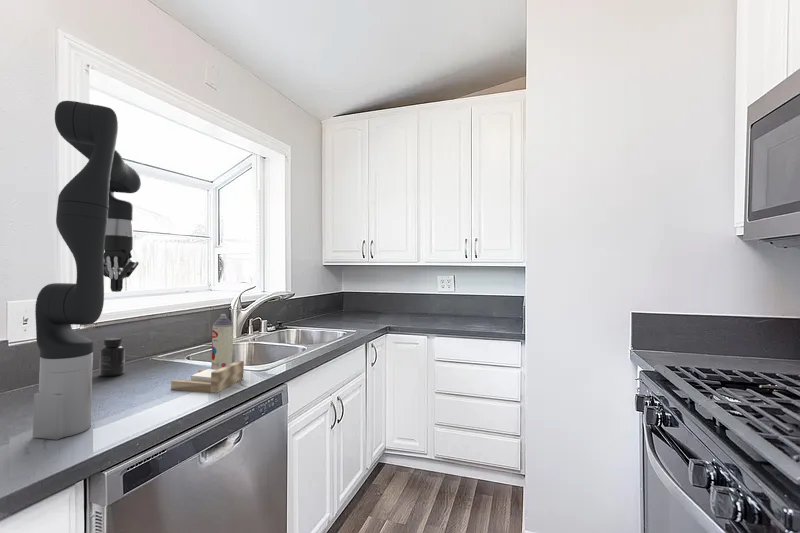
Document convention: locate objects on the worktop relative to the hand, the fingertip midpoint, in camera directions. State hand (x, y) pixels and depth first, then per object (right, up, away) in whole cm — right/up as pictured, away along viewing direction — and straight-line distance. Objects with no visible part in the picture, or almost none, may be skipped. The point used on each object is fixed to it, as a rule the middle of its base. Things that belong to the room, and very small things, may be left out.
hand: (116, 291), depth 122 cm
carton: (+26, -30, +5) cm, 40 cm away
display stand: (+26, -30, +5) cm, 40 cm away
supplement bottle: (-10, -29, +12) cm, 33 cm away
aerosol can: (+22, -30, +22) cm, 43 cm away
